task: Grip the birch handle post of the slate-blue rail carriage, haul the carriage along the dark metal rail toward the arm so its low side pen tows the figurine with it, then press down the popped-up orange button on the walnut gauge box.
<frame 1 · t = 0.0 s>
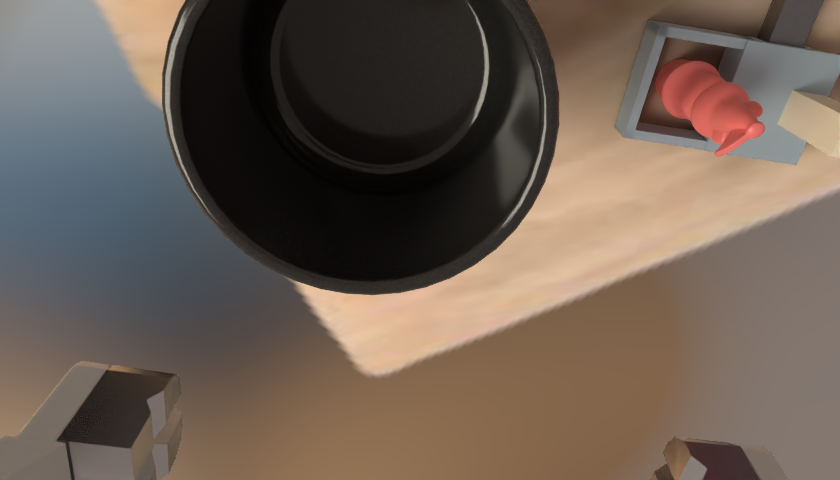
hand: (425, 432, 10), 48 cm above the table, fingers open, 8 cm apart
planter: (391, 36, 54), on the table
figurine: (676, 82, 55), resting in carriage
rail: (785, 13, 52), on the table
carriage: (744, 106, 50), point 6 cm above the table, slide at 0.0 cm
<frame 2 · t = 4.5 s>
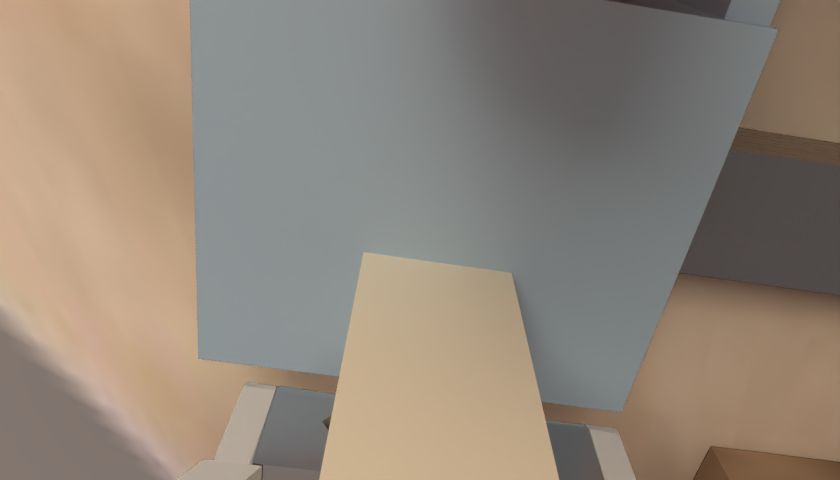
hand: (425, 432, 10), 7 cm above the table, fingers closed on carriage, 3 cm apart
rail: (723, 186, 15), on the table
carriage: (499, 44, 8), point 6 cm above the table, slide at 0.0 cm, touching gripper
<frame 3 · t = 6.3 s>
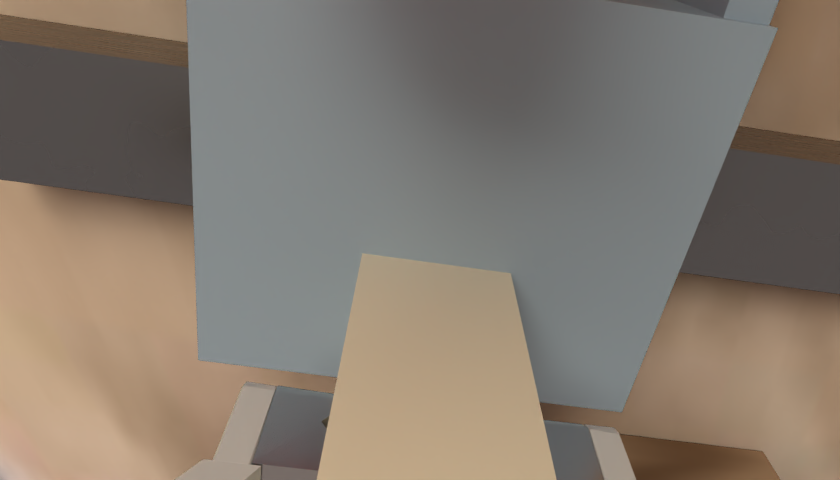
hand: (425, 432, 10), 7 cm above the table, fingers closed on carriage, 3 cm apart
rail: (469, 148, 15), on the table
carriage: (496, 45, 8), point 6 cm above the table, slide at 6.4 cm, touching figurine, gripper
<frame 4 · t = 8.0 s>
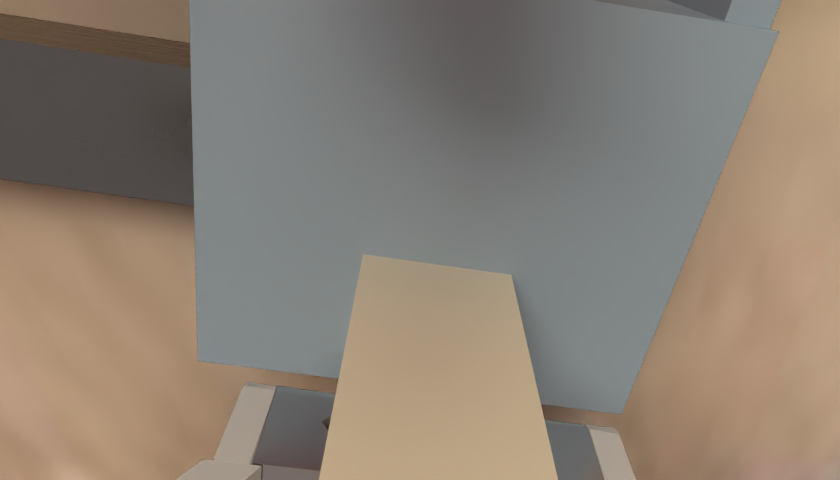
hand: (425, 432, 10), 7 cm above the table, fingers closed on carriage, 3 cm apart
rail: (173, 105, 14), on the table
carriage: (499, 46, 8), point 6 cm above the table, slide at 13.5 cm, touching figurine, gripper
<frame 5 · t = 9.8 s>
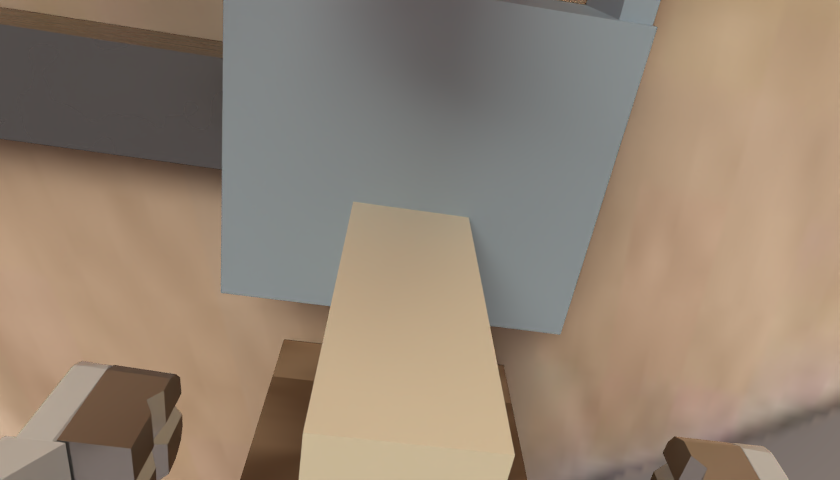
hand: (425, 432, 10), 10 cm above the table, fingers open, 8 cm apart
gauge box: (388, 395, 23), on the table
rail: (195, 90, 18), on the table
carriage: (448, 35, 11), point 6 cm above the table, slide at 13.5 cm, touching figurine
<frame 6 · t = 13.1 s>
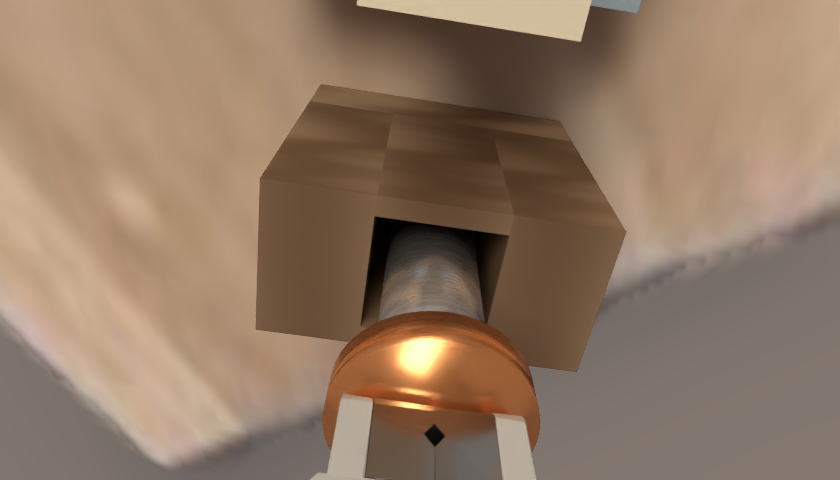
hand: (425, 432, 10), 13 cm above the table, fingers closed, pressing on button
button: (431, 310, 13), point 9 cm above the table, slide at 3.4 cm, touching gripper
gauge box: (431, 159, 21), on the table
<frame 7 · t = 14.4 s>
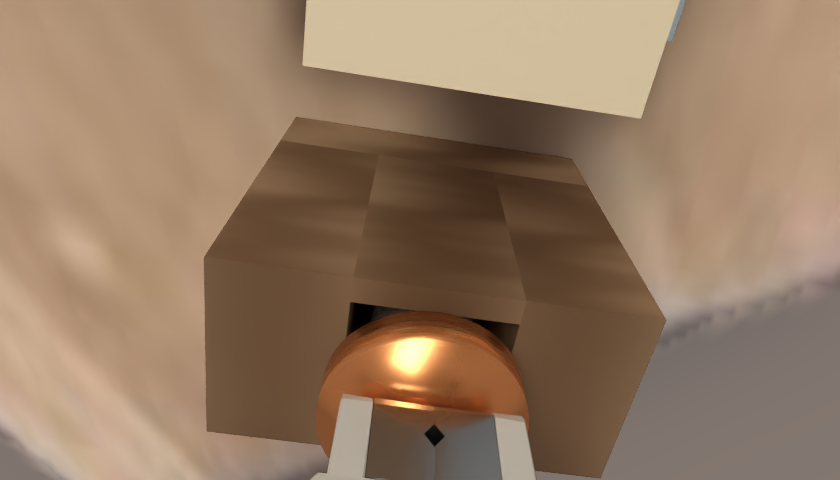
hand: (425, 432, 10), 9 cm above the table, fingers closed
button: (423, 311, 13), point 6 cm above the table, slide at 0.1 cm
gauge box: (424, 201, 18), on the table
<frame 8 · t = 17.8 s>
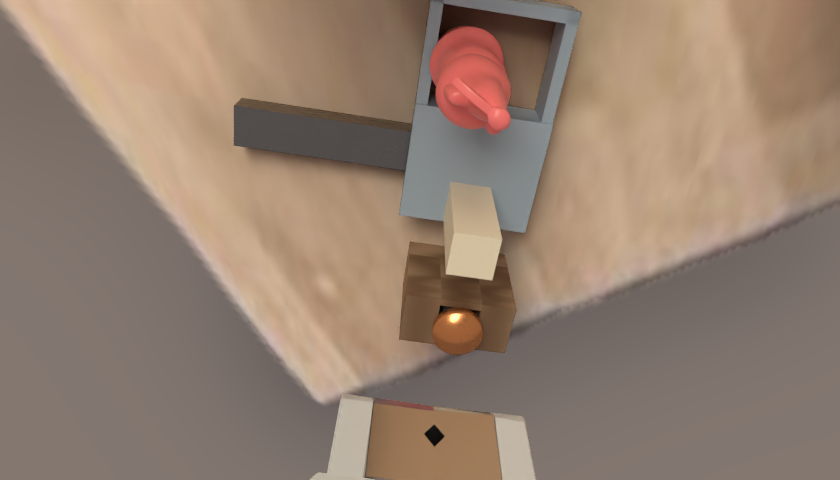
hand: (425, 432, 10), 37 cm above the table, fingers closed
button: (455, 307, 47), point 6 cm above the table, slide at 0.1 cm
figurine: (459, 54, 43), resting in carriage
gauge box: (453, 268, 52), on the table
rail: (386, 139, 46), on the table
carriage: (486, 133, 40), point 6 cm above the table, slide at 13.5 cm, touching figurine
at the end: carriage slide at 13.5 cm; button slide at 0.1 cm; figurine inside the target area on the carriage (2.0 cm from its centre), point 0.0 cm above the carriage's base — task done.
